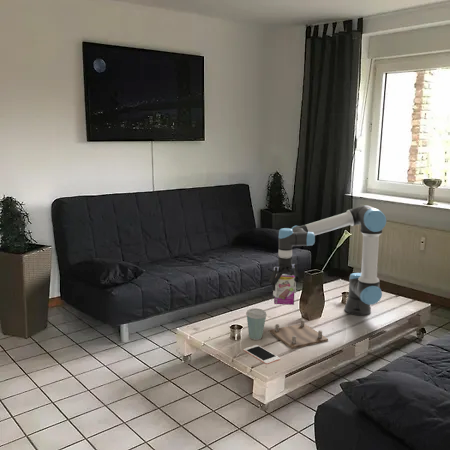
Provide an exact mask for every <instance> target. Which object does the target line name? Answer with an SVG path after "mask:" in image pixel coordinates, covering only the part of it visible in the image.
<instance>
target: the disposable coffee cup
mask: <svg viewBox="0 0 450 450" xmlns="http://www.w3.org/2000/svg"><path fill="white" fill-rule="evenodd" d="M245 314H246V321H247V331H248V337H249V339H251V340H253V341H254V340H255V341H256V340H257V341H258V340H261V338H262V337H263V334H264V329H265V324H266V319H267V316H268V314H267V312H266V310H264V309H261V308H248V310H247V311H246V313H245Z"/></svg>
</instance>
